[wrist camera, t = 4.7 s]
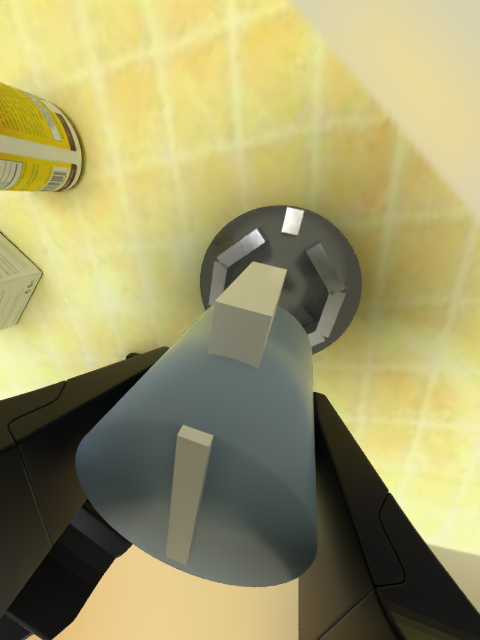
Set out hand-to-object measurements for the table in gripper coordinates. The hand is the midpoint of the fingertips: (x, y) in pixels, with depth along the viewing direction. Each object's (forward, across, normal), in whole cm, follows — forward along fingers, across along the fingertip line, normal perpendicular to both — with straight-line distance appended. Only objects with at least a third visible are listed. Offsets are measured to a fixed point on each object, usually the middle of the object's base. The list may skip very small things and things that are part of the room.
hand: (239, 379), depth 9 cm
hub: (+11, 0, 0) cm, 11 cm away
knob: (+2, 0, 0) cm, 2 cm away
